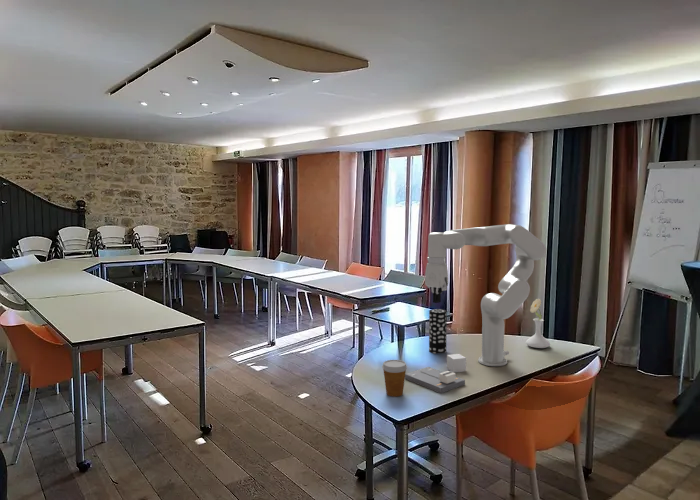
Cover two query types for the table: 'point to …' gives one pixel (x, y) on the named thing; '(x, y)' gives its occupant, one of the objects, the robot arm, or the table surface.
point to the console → (432, 380)
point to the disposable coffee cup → (394, 377)
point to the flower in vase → (537, 329)
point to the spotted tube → (437, 331)
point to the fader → (447, 377)
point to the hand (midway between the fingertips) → (436, 302)
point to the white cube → (456, 363)
